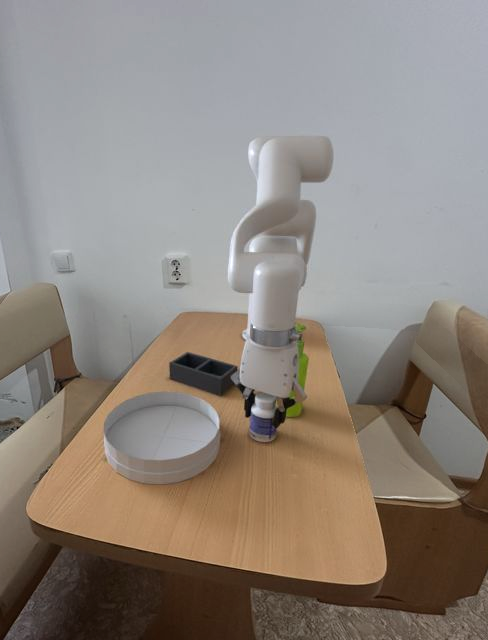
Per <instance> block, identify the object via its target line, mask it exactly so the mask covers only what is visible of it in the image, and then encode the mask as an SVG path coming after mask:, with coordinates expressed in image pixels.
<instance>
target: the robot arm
mask: <svg viewBox="0 0 488 640" xmlns="http://www.w3.org/2000/svg"><path fill="white" fill-rule="evenodd" d="M247 157H248V158H247V159H248V164H249V166H250V169H251V170H252V172H253V174H254V178H255V181H256V184H257V187H256V201H255V205H254V206H253V207H251V209H250V210H249V211H247V212H246V214H245V215H244V216H242V218H241V219H240V221H239V222H238V224H237V225H236V227H235V228H234V230H233V232H232V236H231V238H230V244H229V253H228V262H227V282H228V285H229V287H230V288H231V289H232V290H233V291H234V292H236V293H240V294H248V310H247V326H246V327H247V328H246V329H244V330H243V331H242V333H241V336H242V339H244V340H245V342H244V346H243V349H242V353H241V359H240V365H239V367H240V368H239V369H237V371H236V372H235V373H234V374H233V375H231V379H232V380H233V382H234V383H235V384H234V385H236V387H237V389H238V390H239V392H240V393H241V394H242V396H241V397H242V399H243V400H244V405H243V410H244V411H245V413H244V417H245V418H247V419H250V418H251V407H252V405H253V404H254V403H255V396H256V394H257V393H255V391H257V392H264V393H267V394H270V395H273V396H276V401H277V405H278V408H277V409H276V410H275V416H274V428H277V429H278V428H279V427H280V426H281V424H282V425H283V424H284V423H285V422H286V418H287V417H286V411H287V409H288V408H290V407H292V406H293V405H295V404H298V403H300V402H302V403H303V402H305V400H306V399H307V397H308V396H307V394H306V392H305V390H304V391H303V389H302V387H301V386H300V384H299V383H298V373H299V353H298V344H297V342H296V340H297V341H300V340H301V339H302V337H303V334H302V332H301V333H298V332H296V330H295V329H296V326H295V323H296V318H297V308H298V302H299V292H300V291H301V289H302V287H304V286H305V284H306V279H307V275H308V272H307V271H308V270H307V269H308V267H307V266H308V264H309V261H310V256H311V253H312V245H313V240H314V235H315V229H316V221H317V209H316V205H315V203H313V201H311V200H308V199H301V196H302V195H301V192H302V191H301V187H302V186H301V185H302V183H309V184H310V183H311V184H312V183H313V184H314V183H317V184H318V183H323V182H325V181H327V180H328V178H329V177H330V175H331V173H332V170H333V166H334V157H335V156H334V147H333V143H332V141H331V139H330V138H329V137H328V136H327V135H269V136H260V137H256V138H254V139H253V140H251V142H250V143H249V144H248V149H247ZM258 235H262V236H258ZM251 240H252V241H251ZM249 241H250V243H249V246H248V247H249V248H248V251H245V247H246V245H247V244H248V242H249ZM291 389H292V391H293V392H294V394H295V396H292V397H290V398H289V395H290V392H291Z"/></svg>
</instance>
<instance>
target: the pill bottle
mask: <svg viewBox="0 0 488 640" xmlns="http://www.w3.org/2000/svg"><path fill="white" fill-rule="evenodd" d="M255 394H256V396H255V403H254V404H253V405H252V407H251V416H250V417H249V419H250V420H249V431H248V432H249V436H250V437H251V439H253V440H254V441H257V442H259V443H270V442H272V441H273V440H275V438H276V436H277V429H278V428H274V416H275V410H276V409H277V408H278V407H277V406H276V396H273V395H270V394H267V393H264V392H260V391H258V392H257V393H255Z"/></svg>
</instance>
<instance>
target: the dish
mask: <svg viewBox="0 0 488 640" xmlns="http://www.w3.org/2000/svg"><path fill="white" fill-rule="evenodd" d="M220 442H221V430H220V417H219V415H218V412H217V411H216V409H214V407H213V406H212V405H211V404H210V403H209V402H207V401H206V400H204V399H203V398H200V397H198V396H195V395H192V394H189V393H184V392H179V391H154V392H153V391H152V392H147V393H142V394H138V395H136V396H133V397H131V398H128V399H125V400H124V401H122V402H120V403H119V404H118V405H115V407H114V408H113V409H112V410H111V411H110V412H109V413H108V414H107V416H106V418H105V419H104V421H103V447H104V455H105V458H106V460H107V463H108V464H109V466H110V467H111V468H112V469H113V470H114V471H115V472H116V474H119V475H121V476H122V477H124V478H126V479H128V480H130V481H133V482H137V483H140V484H145V485H161V486H162V485H169V484H175V483H180V482H181V483H182V482H184V481H187V480H190V479H192V478H195V477H196V476H198V475H199V474H202V472H204V471H206V470H207V469H208V468H209V467H210V466H211V465H212V464H213V463H214V462H215V461H216V458H217V456H218V454H219V453H220V445H221V443H220Z"/></svg>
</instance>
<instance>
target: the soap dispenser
mask: <svg viewBox="0 0 488 640" xmlns="http://www.w3.org/2000/svg"><path fill="white" fill-rule="evenodd" d="M295 326H296V329H295V330H296V332H298V333H301V334H302V332H303V331H306V329H307V326H306V325H304V324H300V323H298V322H295ZM296 342H297V344H298V353H299V373H298V383H299V384H300V386H301V387H302V389H303V391H304V392H305V388H306V381H307V373H308V366H309V359H310V358H309V356H308V355H307V354H306V353H304V349H305V340H304V339H302V338H301V340H300V341H297V340H296ZM292 396H295V394H294V392H293V391H292V389H291V392H290V395H289V398H290V397H292ZM276 406H277V407H278V405H277V401H276ZM302 409H303V402H300V403H298V404H295V405H293V406H292V407H290V408H288V409H287V411H286V418H295V417H298V416H300V415H301V413H302Z"/></svg>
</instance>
